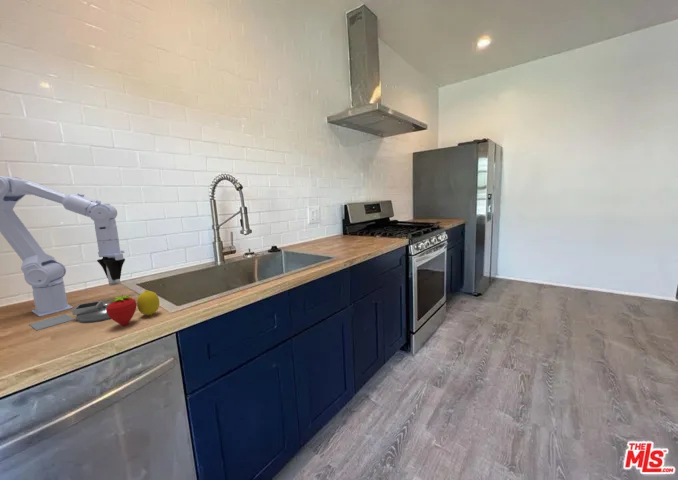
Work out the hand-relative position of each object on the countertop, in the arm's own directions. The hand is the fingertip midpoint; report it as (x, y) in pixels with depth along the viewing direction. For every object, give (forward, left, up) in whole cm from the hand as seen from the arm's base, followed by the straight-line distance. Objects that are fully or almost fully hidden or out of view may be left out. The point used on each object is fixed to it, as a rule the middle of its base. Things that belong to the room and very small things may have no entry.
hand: (114, 278), depth 99 cm
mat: (+3, -17, -8) cm, 20 cm away
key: (0, 0, -2) cm, 2 cm away
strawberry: (+26, -8, -9) cm, 29 cm away
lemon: (+25, -1, -9) cm, 27 cm away
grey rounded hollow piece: (+10, -6, -8) cm, 14 cm away
